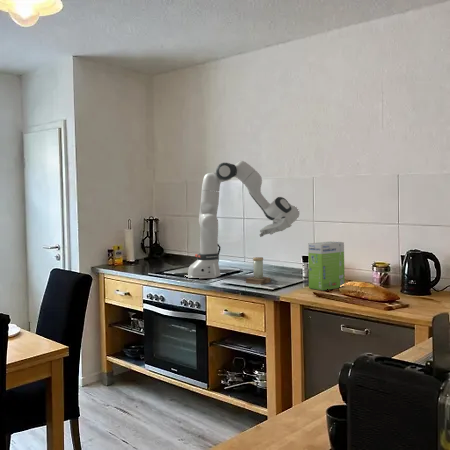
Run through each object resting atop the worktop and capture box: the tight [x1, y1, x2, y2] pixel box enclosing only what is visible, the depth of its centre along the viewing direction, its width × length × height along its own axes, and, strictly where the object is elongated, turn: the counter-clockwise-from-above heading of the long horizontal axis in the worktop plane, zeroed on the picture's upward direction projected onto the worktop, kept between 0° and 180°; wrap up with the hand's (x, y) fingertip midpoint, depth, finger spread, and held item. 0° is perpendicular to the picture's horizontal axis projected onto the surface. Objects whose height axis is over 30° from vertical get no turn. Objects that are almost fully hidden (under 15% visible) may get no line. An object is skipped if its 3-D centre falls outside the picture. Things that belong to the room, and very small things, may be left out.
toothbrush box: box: [307, 241, 346, 291], centre depth 273 cm, size 18×10×24 cm, turn 126°
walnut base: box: [245, 276, 272, 285], centre depth 294 cm, size 10×10×2 cm
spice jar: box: [252, 256, 264, 279], centre depth 293 cm, size 6×6×12 cm
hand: (265, 234), depth 303 cm, fingers open, 8 cm apart
